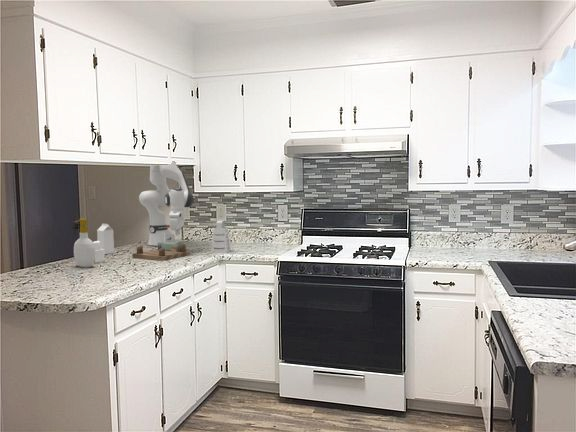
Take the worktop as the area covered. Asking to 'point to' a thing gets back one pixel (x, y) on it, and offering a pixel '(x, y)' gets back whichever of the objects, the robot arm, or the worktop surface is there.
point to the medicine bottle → (98, 252)
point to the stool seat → (161, 253)
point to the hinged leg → (168, 245)
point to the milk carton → (106, 238)
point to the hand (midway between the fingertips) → (177, 235)
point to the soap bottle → (84, 247)
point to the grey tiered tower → (220, 238)
